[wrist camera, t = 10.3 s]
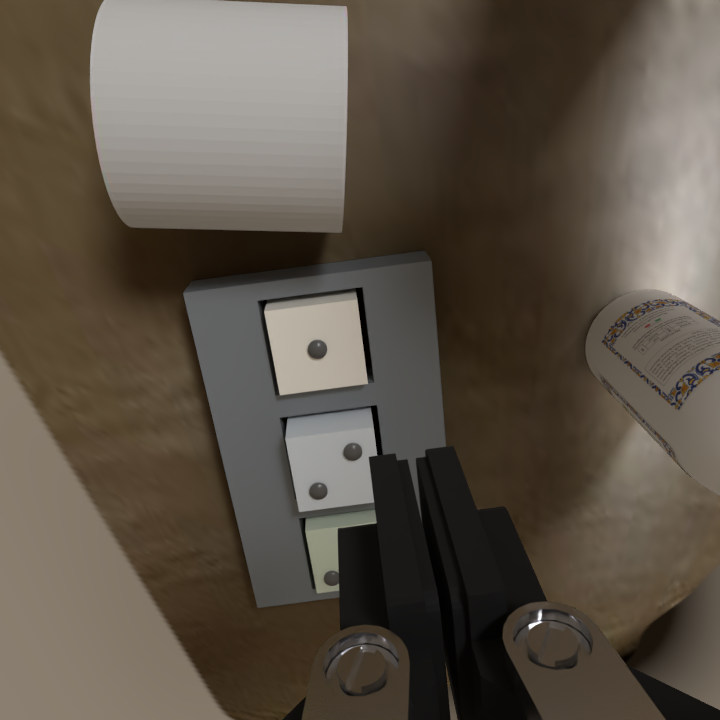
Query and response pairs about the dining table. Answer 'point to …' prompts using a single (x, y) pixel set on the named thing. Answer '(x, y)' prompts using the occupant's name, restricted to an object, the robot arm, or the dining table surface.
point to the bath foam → (664, 374)
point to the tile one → (316, 341)
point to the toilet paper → (222, 113)
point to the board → (311, 397)
